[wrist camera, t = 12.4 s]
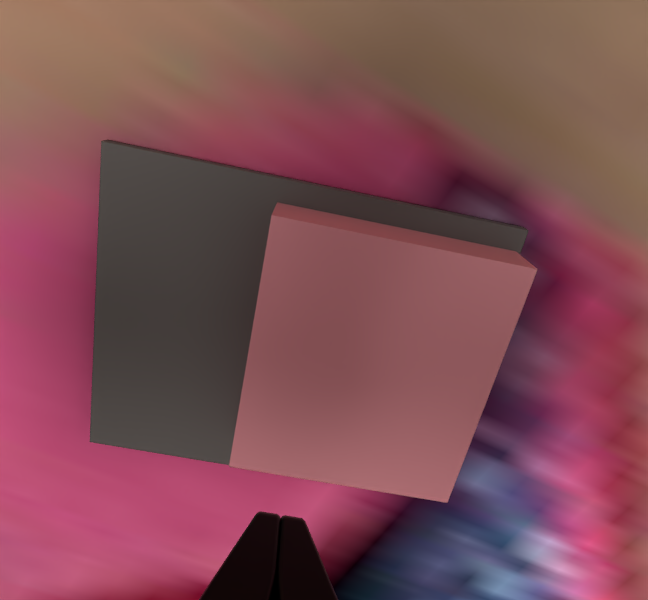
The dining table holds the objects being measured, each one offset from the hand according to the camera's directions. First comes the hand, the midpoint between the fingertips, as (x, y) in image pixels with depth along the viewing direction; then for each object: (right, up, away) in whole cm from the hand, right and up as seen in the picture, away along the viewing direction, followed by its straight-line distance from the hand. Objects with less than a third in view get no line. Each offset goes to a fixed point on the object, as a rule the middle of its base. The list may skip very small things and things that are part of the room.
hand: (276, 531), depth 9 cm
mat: (0, +3, +7) cm, 8 cm away
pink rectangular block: (-1, +3, +6) cm, 7 cm away
